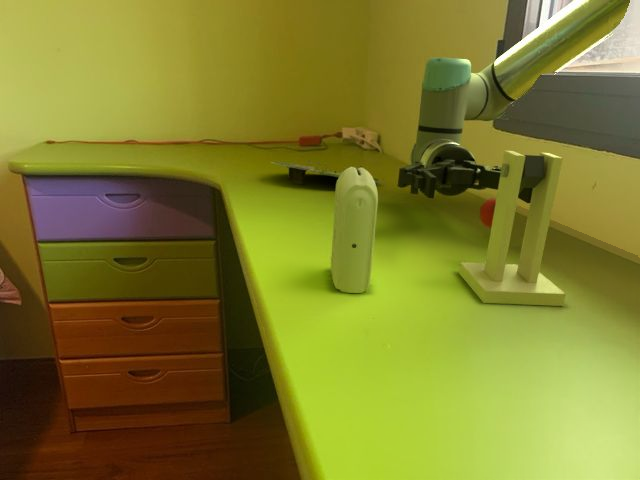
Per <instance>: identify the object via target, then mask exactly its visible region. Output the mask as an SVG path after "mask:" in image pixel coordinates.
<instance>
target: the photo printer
mask: <svg viewBox="0 0 640 480" xmlns="http://www.w3.org/2000/svg"><path fill="white" fill-rule="evenodd" d="M340 173H341V175H340V176H339V177H337V178H338V179H337V180H336V183H335V191H334V194H335V195H334V197H335V198H334V211H333V212H334V213H333V227H332V228H333V229H332V241H331V242H332V243H331V256H330V272H331V278H332V282H333V285H334V288H335V289H336V290H339V291H340V292H342V293H347V294H362V293H364V292H365V291H368V290H369V287H370V282H371V277H372V276H371V275H372V266H373V258H374V257H373V256H374V247H375V246H374V245H375V235H376V225H377V216H378V215H377V214H378V205H379V204H378V203H379V195H378V193H379V192H378V189H377V185H376V184H377V183H375V182H374V179H373V176H372V174H371V173H370V172H369V171H368V170H367V169H366V168H364V167H361V168H359V167H358V168H356V167H355V166H350V167H347V168H345V170H344V171H343V170H342V171H341V172H340Z"/></svg>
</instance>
